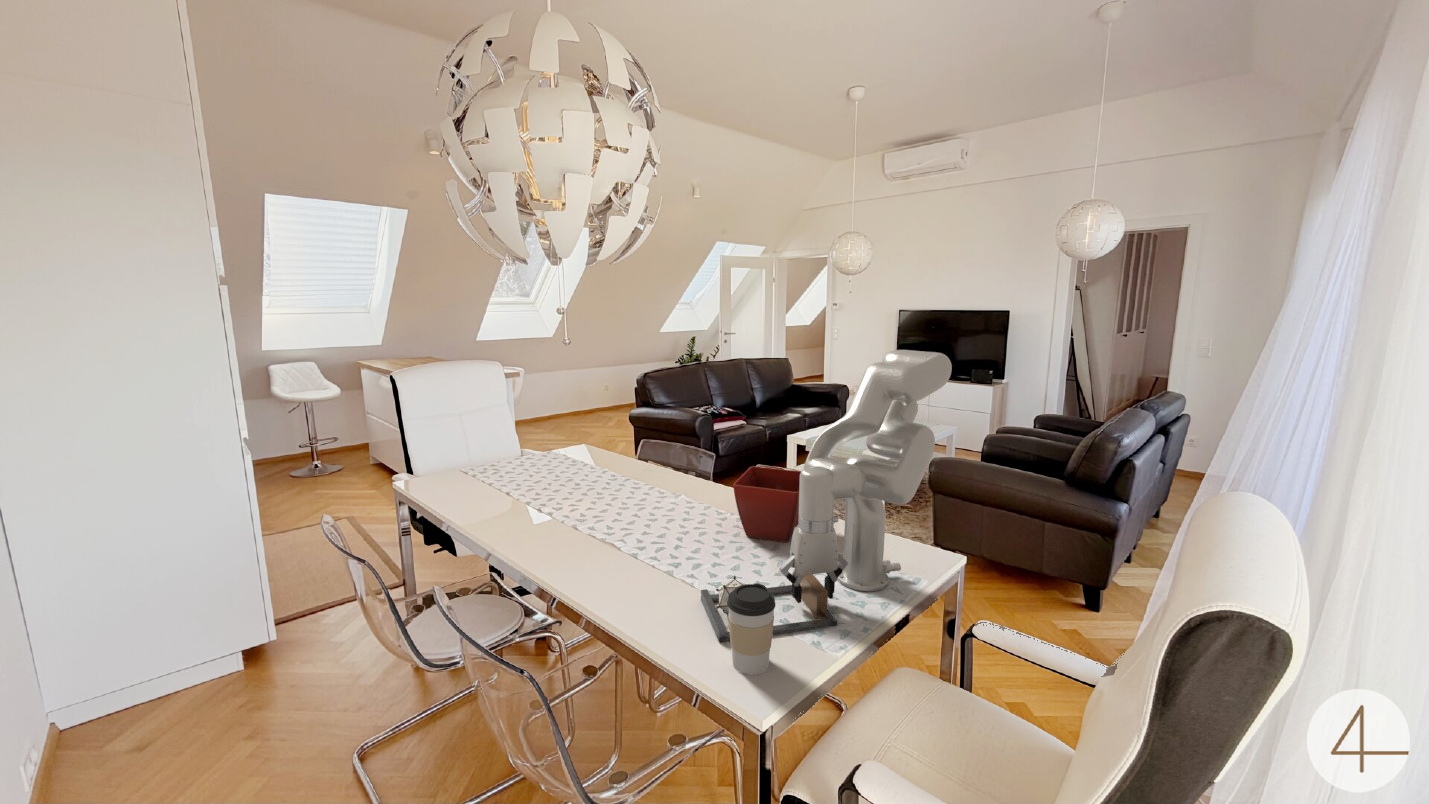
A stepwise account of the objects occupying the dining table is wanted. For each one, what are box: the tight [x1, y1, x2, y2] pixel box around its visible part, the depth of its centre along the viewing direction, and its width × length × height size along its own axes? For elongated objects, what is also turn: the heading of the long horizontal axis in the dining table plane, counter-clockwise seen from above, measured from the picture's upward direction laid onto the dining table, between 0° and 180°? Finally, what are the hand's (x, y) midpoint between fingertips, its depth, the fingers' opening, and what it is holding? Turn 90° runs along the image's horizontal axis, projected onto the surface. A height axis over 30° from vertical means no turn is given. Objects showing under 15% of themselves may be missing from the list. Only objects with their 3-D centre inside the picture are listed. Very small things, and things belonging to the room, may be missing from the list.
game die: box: [715, 575, 744, 615], centre depth 127 cm, size 9×8×10 cm
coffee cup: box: [727, 582, 776, 676], centre depth 109 cm, size 9×9×15 cm
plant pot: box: [732, 465, 802, 543], centre depth 171 cm, size 19×19×17 cm
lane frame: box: [700, 574, 838, 643], centre depth 128 cm, size 26×17×6 cm, turn 104°
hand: (812, 597), depth 131 cm, fingers open, 7 cm apart
